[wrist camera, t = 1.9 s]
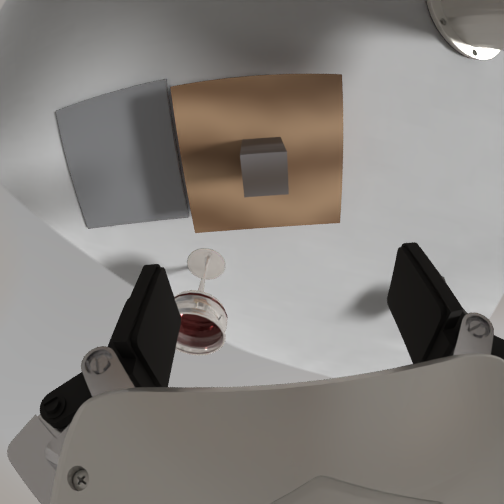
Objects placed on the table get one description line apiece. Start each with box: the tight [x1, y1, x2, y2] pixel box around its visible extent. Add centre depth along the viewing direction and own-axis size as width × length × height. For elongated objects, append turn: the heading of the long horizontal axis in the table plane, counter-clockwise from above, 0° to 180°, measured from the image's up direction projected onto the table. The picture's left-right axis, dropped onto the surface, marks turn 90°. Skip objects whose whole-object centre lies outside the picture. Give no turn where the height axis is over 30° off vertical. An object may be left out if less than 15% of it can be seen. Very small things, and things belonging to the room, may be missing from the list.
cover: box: [170, 74, 343, 233], centre depth 23 cm, size 14×14×6 cm
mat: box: [56, 79, 189, 229], centre depth 31 cm, size 16×14×1 cm
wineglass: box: [174, 248, 227, 355], centre depth 34 cm, size 7×7×12 cm
